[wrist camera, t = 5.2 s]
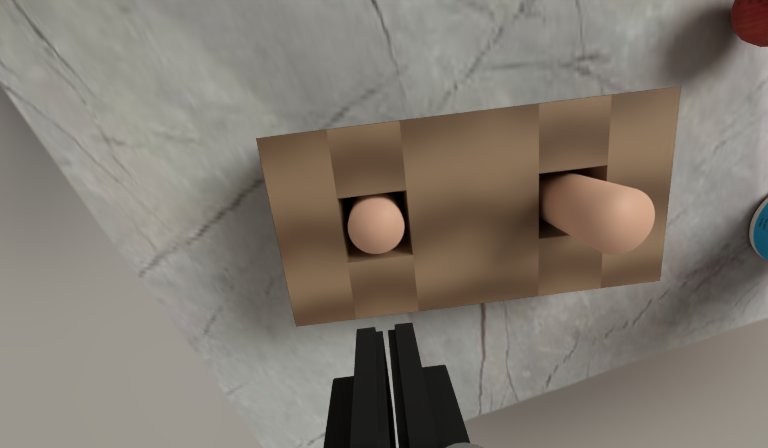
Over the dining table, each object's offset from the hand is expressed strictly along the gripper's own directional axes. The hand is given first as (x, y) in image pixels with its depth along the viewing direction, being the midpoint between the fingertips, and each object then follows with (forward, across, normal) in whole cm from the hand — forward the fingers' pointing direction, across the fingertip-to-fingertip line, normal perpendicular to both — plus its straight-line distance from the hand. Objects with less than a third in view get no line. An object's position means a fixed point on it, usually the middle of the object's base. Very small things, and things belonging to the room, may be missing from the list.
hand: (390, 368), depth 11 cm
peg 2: (+17, -14, 0) cm, 22 cm away
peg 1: (+22, 0, 0) cm, 22 cm away
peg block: (+23, -7, 0) cm, 24 cm away
